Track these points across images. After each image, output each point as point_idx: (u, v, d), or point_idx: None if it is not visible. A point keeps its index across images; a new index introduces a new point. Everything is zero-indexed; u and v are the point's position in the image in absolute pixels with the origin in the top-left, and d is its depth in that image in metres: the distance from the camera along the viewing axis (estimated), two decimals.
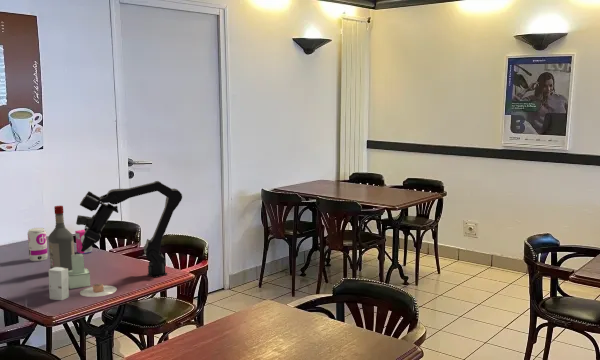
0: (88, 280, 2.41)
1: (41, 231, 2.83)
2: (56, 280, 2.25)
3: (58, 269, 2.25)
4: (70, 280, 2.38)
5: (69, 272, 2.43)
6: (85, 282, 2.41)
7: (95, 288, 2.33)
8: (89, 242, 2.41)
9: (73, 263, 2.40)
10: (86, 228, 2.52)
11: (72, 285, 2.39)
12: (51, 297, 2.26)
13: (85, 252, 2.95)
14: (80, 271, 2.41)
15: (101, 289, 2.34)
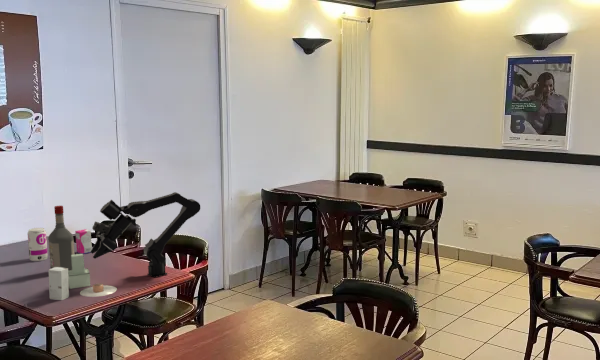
0: (88, 280, 2.41)
1: (41, 231, 2.83)
2: (56, 280, 2.25)
3: (58, 269, 2.25)
4: (70, 280, 2.38)
5: (69, 272, 2.43)
6: (85, 282, 2.41)
7: (95, 288, 2.33)
8: (103, 250, 2.41)
9: (73, 263, 2.40)
10: None
11: (72, 285, 2.39)
12: (51, 297, 2.26)
13: (85, 252, 2.95)
14: (80, 271, 2.41)
15: (101, 289, 2.34)
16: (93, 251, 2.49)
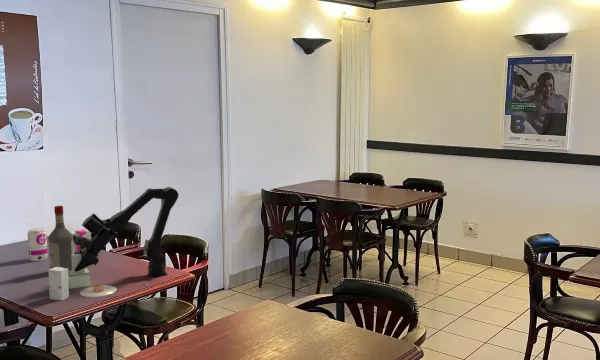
0: (88, 280, 2.41)
1: (41, 231, 2.83)
2: (56, 280, 2.25)
3: (58, 269, 2.25)
4: (70, 280, 2.38)
5: (69, 272, 2.43)
6: (85, 282, 2.41)
7: (95, 288, 2.33)
8: (84, 263, 2.40)
9: (73, 263, 2.40)
10: (81, 250, 2.48)
11: (72, 285, 2.39)
12: (51, 297, 2.26)
13: None
14: (80, 271, 2.41)
15: (101, 289, 2.34)
16: None
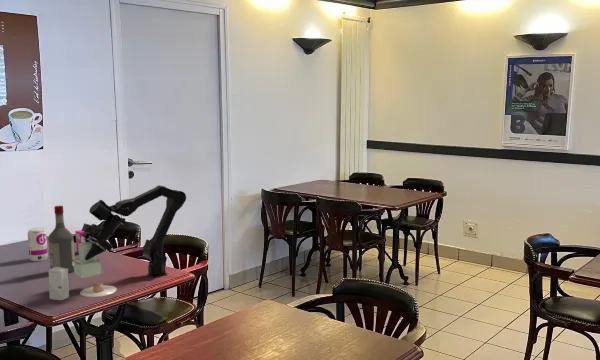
0: (99, 268, 2.36)
1: (41, 231, 2.83)
2: (56, 280, 2.25)
3: (58, 269, 2.25)
4: (82, 269, 2.32)
5: (77, 261, 2.35)
6: (96, 270, 2.36)
7: (95, 288, 2.33)
8: (95, 251, 2.35)
9: (83, 251, 2.33)
10: (86, 239, 2.41)
11: (83, 274, 2.32)
12: (51, 297, 2.26)
13: None
14: (90, 259, 2.35)
15: (101, 289, 2.34)
16: None
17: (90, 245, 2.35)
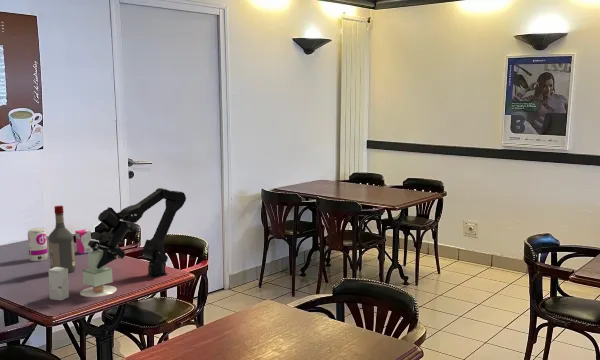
0: (110, 276, 2.35)
1: (41, 231, 2.83)
2: (56, 280, 2.25)
3: (58, 269, 2.25)
4: (95, 278, 2.29)
5: (88, 270, 2.32)
6: (108, 278, 2.34)
7: (95, 288, 2.33)
8: (107, 259, 2.33)
9: (95, 260, 2.31)
10: None
11: (96, 283, 2.30)
12: (51, 297, 2.26)
13: (85, 252, 2.95)
14: (101, 268, 2.33)
15: (101, 289, 2.34)
16: None
17: (101, 253, 2.33)
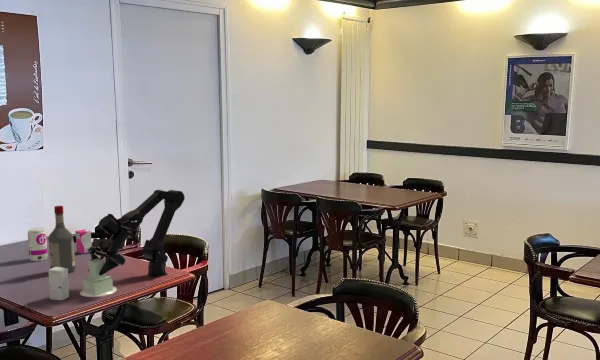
0: (111, 284, 2.35)
1: (41, 231, 2.83)
2: (56, 280, 2.25)
3: (58, 269, 2.25)
4: (95, 286, 2.30)
5: (88, 279, 2.32)
6: (108, 287, 2.34)
7: None
8: (109, 266, 2.33)
9: (96, 268, 2.31)
10: (91, 253, 2.39)
11: (97, 292, 2.30)
12: (51, 297, 2.26)
13: (85, 252, 2.95)
14: (102, 276, 2.34)
15: None
16: None
17: (102, 262, 2.33)
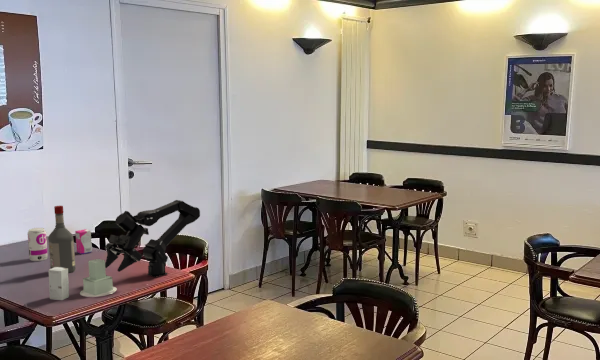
0: (111, 284, 2.35)
1: (41, 231, 2.83)
2: (56, 280, 2.25)
3: (58, 269, 2.25)
4: (95, 286, 2.30)
5: (88, 279, 2.32)
6: (108, 287, 2.34)
7: None
8: (127, 262, 2.38)
9: (96, 268, 2.31)
10: None
11: (97, 292, 2.30)
12: (51, 297, 2.26)
13: (85, 252, 2.95)
14: (102, 276, 2.34)
15: None
16: (107, 265, 2.43)
17: (102, 262, 2.33)
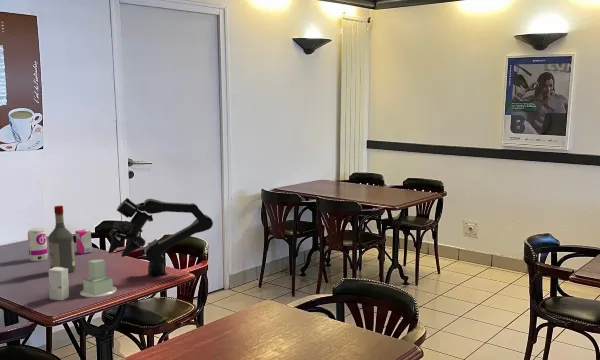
0: (111, 284, 2.35)
1: (41, 231, 2.83)
2: (56, 280, 2.25)
3: (58, 269, 2.25)
4: (95, 286, 2.30)
5: (88, 279, 2.32)
6: (108, 287, 2.34)
7: None
8: (131, 247, 2.43)
9: (96, 268, 2.31)
10: None
11: (97, 292, 2.30)
12: (51, 297, 2.26)
13: (85, 252, 2.95)
14: (102, 276, 2.34)
15: None
16: (111, 251, 2.47)
17: (102, 262, 2.33)
